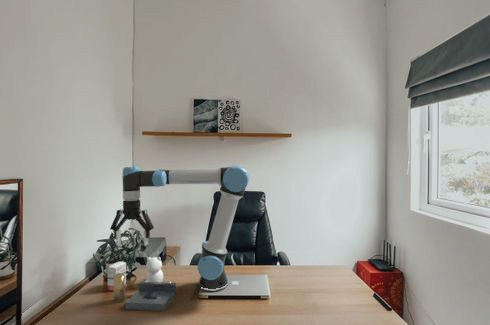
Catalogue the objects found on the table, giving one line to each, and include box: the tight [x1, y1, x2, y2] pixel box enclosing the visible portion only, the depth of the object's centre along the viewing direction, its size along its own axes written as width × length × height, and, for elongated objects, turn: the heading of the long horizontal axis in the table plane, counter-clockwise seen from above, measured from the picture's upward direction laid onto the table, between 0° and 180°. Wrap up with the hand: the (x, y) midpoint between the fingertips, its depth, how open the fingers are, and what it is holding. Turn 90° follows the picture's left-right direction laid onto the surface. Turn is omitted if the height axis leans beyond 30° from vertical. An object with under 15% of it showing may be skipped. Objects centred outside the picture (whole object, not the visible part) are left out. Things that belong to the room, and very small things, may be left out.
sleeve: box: [113, 273, 126, 304], centre depth 127 cm, size 5×5×12 cm
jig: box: [124, 279, 177, 312], centre depth 125 cm, size 18×14×7 cm
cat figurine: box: [145, 256, 164, 282], centre depth 145 cm, size 9×12×15 cm
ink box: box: [107, 261, 127, 292], centre depth 141 cm, size 9×5×12 cm, turn 168°
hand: (132, 244), depth 126 cm, fingers open, 13 cm apart
